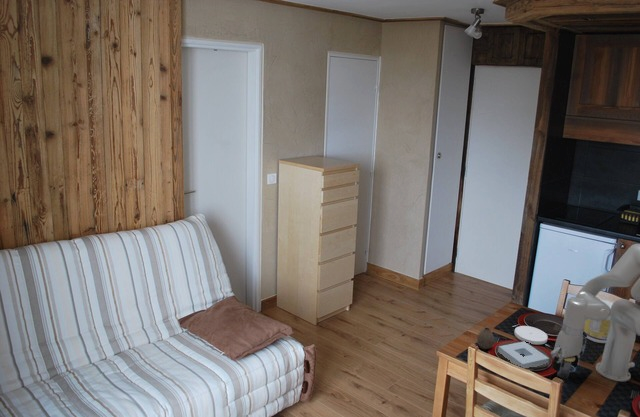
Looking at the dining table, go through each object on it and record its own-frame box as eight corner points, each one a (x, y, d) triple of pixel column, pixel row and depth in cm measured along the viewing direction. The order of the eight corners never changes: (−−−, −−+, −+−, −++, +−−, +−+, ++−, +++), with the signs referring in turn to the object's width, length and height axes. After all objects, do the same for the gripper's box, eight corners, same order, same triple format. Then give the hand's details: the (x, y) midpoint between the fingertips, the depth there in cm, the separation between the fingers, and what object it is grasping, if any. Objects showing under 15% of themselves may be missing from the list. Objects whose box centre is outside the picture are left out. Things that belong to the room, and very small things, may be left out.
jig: (522, 349, 232) (524, 341, 231) (547, 366, 220) (549, 358, 219) (497, 354, 227) (498, 346, 226) (521, 372, 215) (522, 364, 213)
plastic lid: (507, 336, 243) (508, 331, 243) (523, 327, 252) (524, 323, 252) (537, 349, 233) (538, 344, 233) (552, 340, 242) (553, 335, 242)
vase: (493, 352, 229) (496, 333, 226) (476, 349, 230) (479, 331, 228) (491, 344, 235) (494, 326, 233) (475, 341, 236) (478, 323, 234)
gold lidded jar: (562, 370, 218) (566, 350, 216) (574, 378, 213) (578, 358, 210) (551, 373, 216) (555, 353, 213) (563, 381, 210) (567, 361, 208)
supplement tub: (587, 328, 255) (594, 295, 251) (615, 338, 247) (622, 304, 242) (577, 336, 247) (584, 302, 242) (605, 347, 239) (613, 312, 234)
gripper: (580, 321, 215) (572, 359, 220) (548, 327, 208) (540, 366, 213) (596, 330, 209) (588, 369, 213) (563, 337, 202) (555, 377, 207)
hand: (564, 367), depth 213 cm, fingers open, 9 cm apart
